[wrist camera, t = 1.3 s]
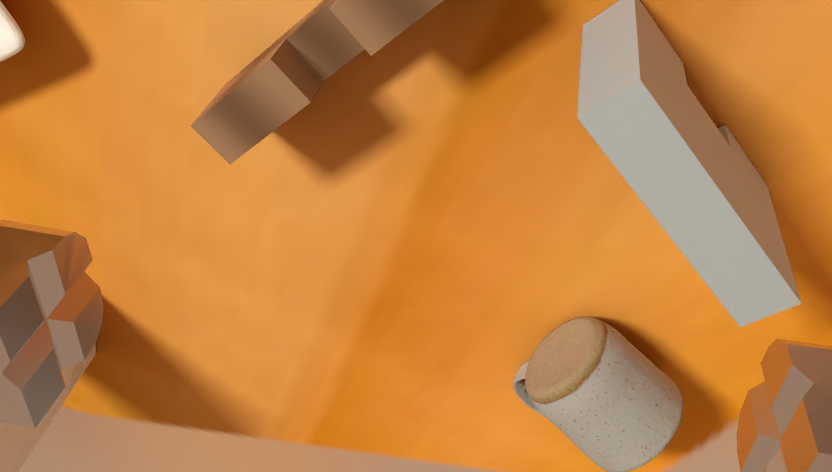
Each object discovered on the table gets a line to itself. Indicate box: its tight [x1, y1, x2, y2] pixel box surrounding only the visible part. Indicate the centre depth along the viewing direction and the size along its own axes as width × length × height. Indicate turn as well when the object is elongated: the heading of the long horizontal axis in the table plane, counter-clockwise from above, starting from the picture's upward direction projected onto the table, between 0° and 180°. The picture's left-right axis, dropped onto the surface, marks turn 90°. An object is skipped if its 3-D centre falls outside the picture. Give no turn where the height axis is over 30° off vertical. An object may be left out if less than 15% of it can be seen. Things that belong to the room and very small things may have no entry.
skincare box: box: [0, 343, 96, 472], centre depth 57 cm, size 8×7×16 cm
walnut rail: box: [191, 0, 444, 164], centre depth 41 cm, size 18×3×5 cm, turn 131°
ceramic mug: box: [513, 317, 683, 472], centre depth 53 cm, size 11×8×8 cm
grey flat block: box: [577, 0, 801, 327], centre depth 39 cm, size 14×3×10 cm, turn 41°
